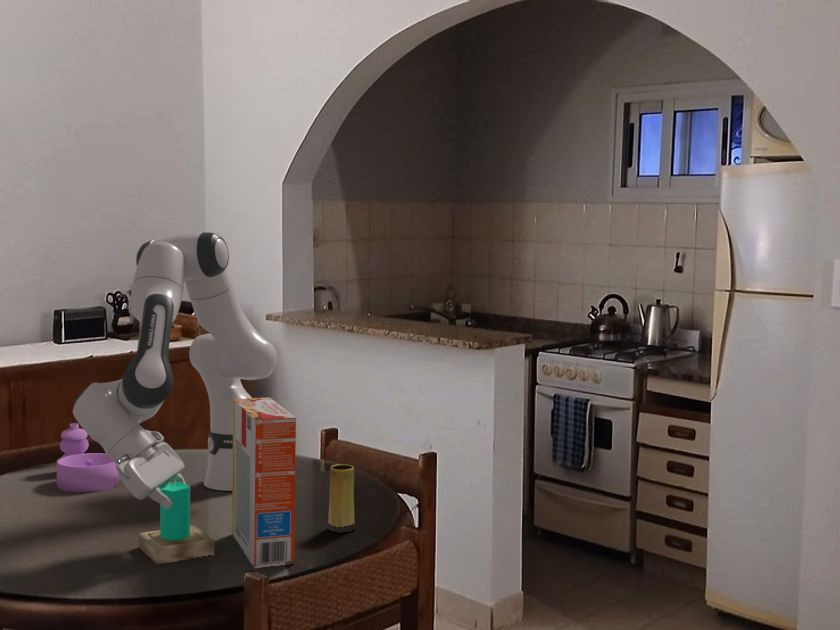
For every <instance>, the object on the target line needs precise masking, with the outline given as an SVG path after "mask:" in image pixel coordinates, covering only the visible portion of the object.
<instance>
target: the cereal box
mask: <svg viewBox="0 0 840 630" xmlns="http://www.w3.org/2000/svg"><path fill="white" fill-rule="evenodd" d="M296 431H297V417H296V416H295V415H293V414H292V413H291V412H290V411H288V410H287V409H286V408H284V406H282V405H281V404H279V403H278V402H276V401H275V399H272V398H271V397H252V398H247V399H233V491H232V501H231V502H232V503H231V504H232V505H231V507H232V512H231V513H232V515H231V516H232V517H231V519H232V520H231V521H232V523H231V527H232V530H231V533H233V535H234V536H233V535H232V536H233V538H234V537H235V538H236V539H235V538H234V539H235V541H236V540H237V541H238V543H239V544H240V546H241V547H242V549H243V550H244V552H245V553H246V555H247V556H248V558H249V559H250V561H251V562H252V564H253V565H254V567H256V566H261V565H267V564H274V563H280V562H288V561H294V562H295V530H296V529H295V527H296V526H295V525H296V524H295V523H296V521H295V520H296V519H295V517H296V514H295V513H296V510H295V509H296V449H297V447H296V441H297V438H296V437H297V432H296ZM237 541H236V542H237ZM238 543H237V544H238ZM239 544H238V545H239ZM240 546H239V547H240ZM241 547H240V548H241ZM242 549H241V550H242ZM243 550H242V551H243ZM244 552H243V553H244ZM246 555H245V556H246ZM248 558H247V559H248ZM250 561H249V562H250ZM252 564H251V565H252Z"/></svg>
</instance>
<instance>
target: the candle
mask: <svg viewBox="0 0 840 630" xmlns="http://www.w3.org/2000/svg"><path fill="white" fill-rule="evenodd" d="M160 490H161V492H162V493H163V494H164V495H166V496H167V497H168V496H169V497H170V498H171V499H172V500H173V501H174V504H173V505H172V506H170V507H169V508H168V509H165V508H164V507H163V506H162V505H161V504H160V503H159V505H160V506H159V508H160V509H159V517H160V518H159V519H160V520H159V524H160V525H159V528H160V529H159V530H160V537H161V538H162V539H165V540H182V539H185V538H188V537H189V536H190V526H191V486H190V485H188V484H187V483H186V484H184V483H180V482H176V479H175V482H167V483H166V484H163V485H161V486H160Z"/></svg>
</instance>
